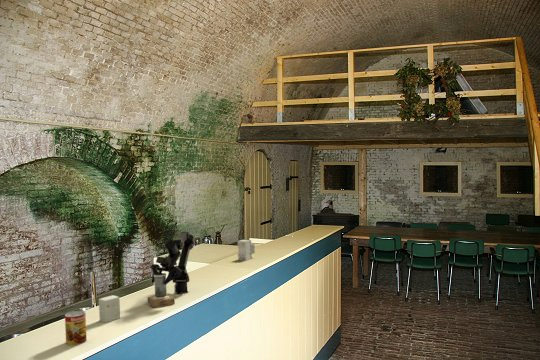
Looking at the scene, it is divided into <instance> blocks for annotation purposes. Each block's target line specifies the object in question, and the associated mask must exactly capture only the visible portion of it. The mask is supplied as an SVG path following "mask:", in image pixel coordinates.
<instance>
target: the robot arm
mask: <svg viewBox="0 0 540 360" xmlns="http://www.w3.org/2000/svg"><path fill="white" fill-rule="evenodd" d="M195 244H196V238H195V236H194V235H193V234H191V233H190V232H189V231H181V232H180V233H179V235H177V237H176V238H175V237H174V238H171V239H169V240H168V241H166V242H165V244H164V247H165V250H166V252H167V254H168V255H165V256H157V257H156V261H155V263H152V264H151V265H150V269H151V271H152V278H151V283H152V284H155V280H154V274H158V273H163V272H165V273H166V272H168V275H166V280H165V282H164V284H165V285H166V286H167V284H169V283H170V282H171V281H172V283H173V284H174V286H173V287H174V294H175V293H176V294H177V295H182V294H186V293H189V291H188V283H189V282H190V275H189V274H188V270H187V265H188V259H189V255H190V251H191V250H192V249H193V248H194V246H195ZM180 250H181V251H180ZM177 262H178V263H177Z"/></svg>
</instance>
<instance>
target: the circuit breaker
mask: <svg viewBox="0 0 540 360" xmlns="http://www.w3.org/2000/svg"><path fill="white" fill-rule="evenodd" d="M237 249H238V250H237V251H238V252H237V258H238V259H237V260H238V261H246V262H247V261H250V260H252V258H253V257H252V254H255V251H256V250H255V243H252V240H251V239H240V240H237Z"/></svg>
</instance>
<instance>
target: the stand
mask: <svg viewBox="0 0 540 360" xmlns="http://www.w3.org/2000/svg"><path fill="white" fill-rule="evenodd" d="M167 295H168V298H165V299H154V296H155V295H153V296H147V304H148V305H149V306H151V307H152V308H153V309H154V308H159V307H165V306H171V305H176V303H175V302H176V301H175V298H174V296H172V295H171V294H169V293H167Z"/></svg>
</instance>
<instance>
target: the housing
mask: <svg viewBox="0 0 540 360" xmlns="http://www.w3.org/2000/svg"><path fill="white" fill-rule="evenodd" d="M166 278H167V273H166V272H162V273H158V274H154V280H155V282H154V295H153V296H154V299H165V298H168V295H167V294H168V293H167V292H168V291H167V284H166V285H165V284H164V282H165V280H166Z"/></svg>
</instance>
